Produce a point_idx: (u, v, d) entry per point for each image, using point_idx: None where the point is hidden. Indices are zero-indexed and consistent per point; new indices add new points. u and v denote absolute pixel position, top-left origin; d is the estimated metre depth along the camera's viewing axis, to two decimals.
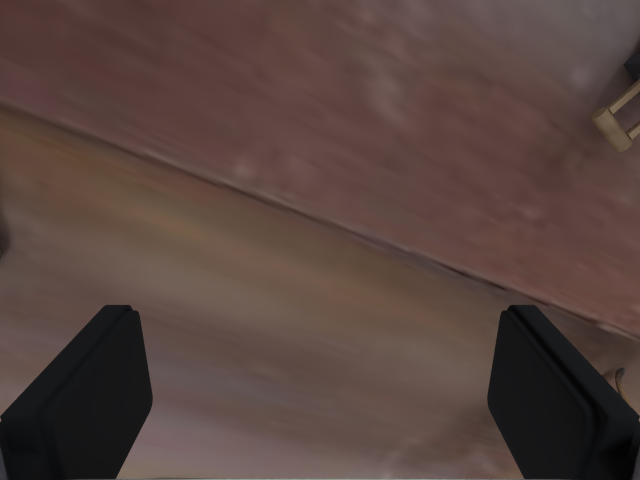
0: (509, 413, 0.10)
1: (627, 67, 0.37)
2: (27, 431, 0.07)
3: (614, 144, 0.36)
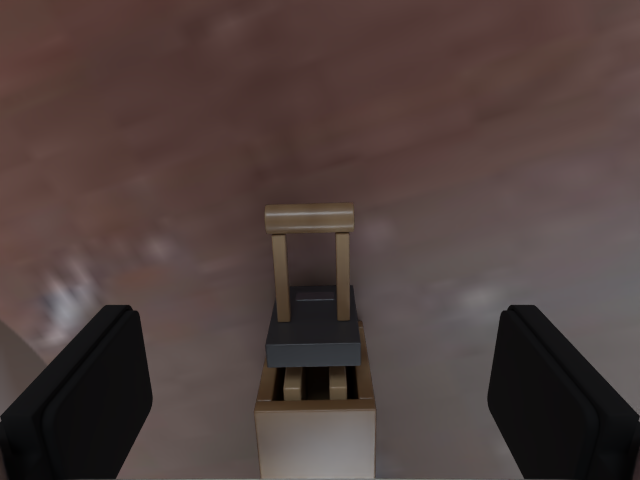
0: (509, 413, 0.10)
1: None
2: (27, 431, 0.07)
3: (285, 208, 0.19)
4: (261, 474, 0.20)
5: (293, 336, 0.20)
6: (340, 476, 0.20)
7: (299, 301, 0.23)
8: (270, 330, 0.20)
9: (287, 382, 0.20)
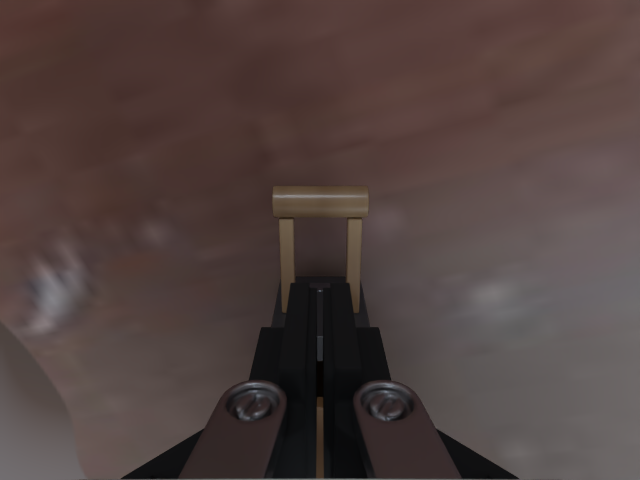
0: None
1: None
2: (297, 382, 0.08)
3: (294, 189, 0.17)
4: None
5: None
6: None
7: None
8: (274, 321, 0.19)
9: None
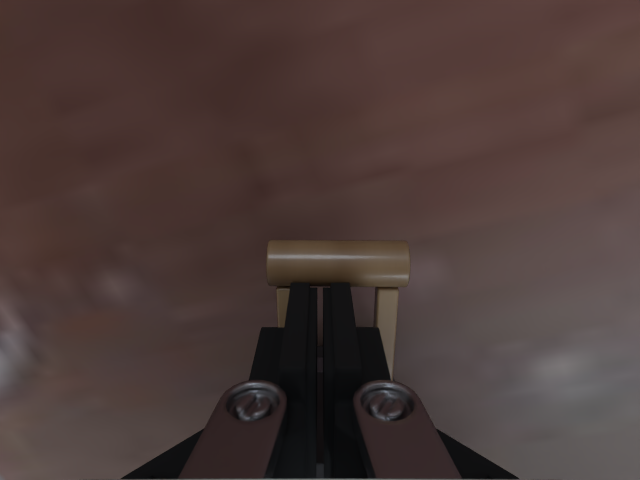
0: None
1: None
2: (298, 382, 0.08)
3: (299, 247, 0.12)
4: None
5: None
6: None
7: None
8: None
9: None
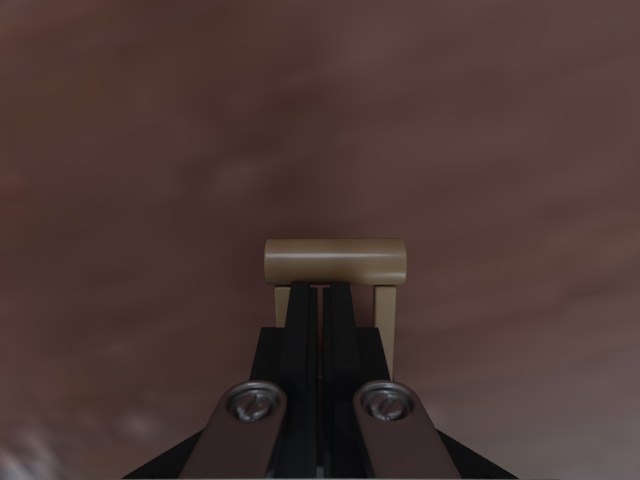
0: None
1: None
2: (298, 382, 0.08)
3: (296, 245, 0.12)
4: None
5: None
6: None
7: None
8: None
9: None
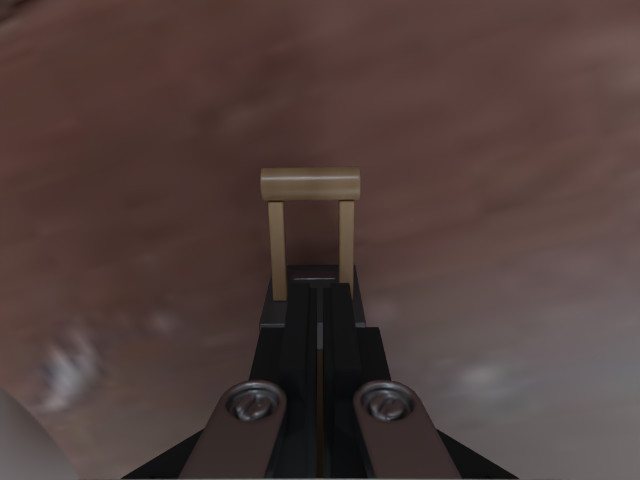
0: None
1: None
2: (298, 382, 0.08)
3: (283, 171, 0.17)
4: None
5: None
6: None
7: (297, 280, 0.21)
8: (265, 309, 0.18)
9: None
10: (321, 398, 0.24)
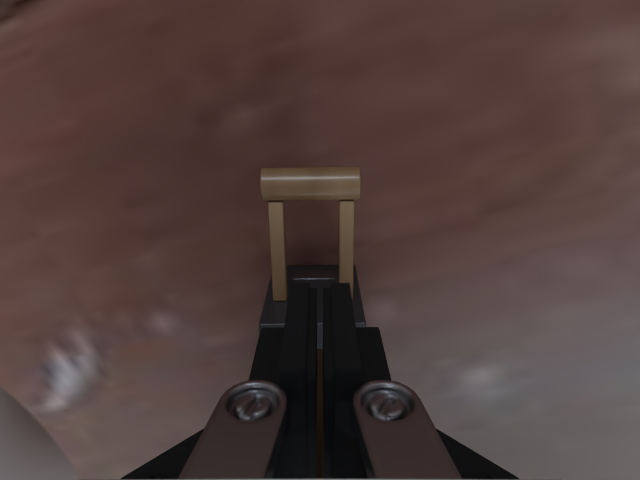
0: None
1: None
2: (298, 382, 0.08)
3: (283, 171, 0.17)
4: None
5: None
6: None
7: (297, 280, 0.21)
8: (265, 309, 0.18)
9: None
10: (321, 398, 0.24)
